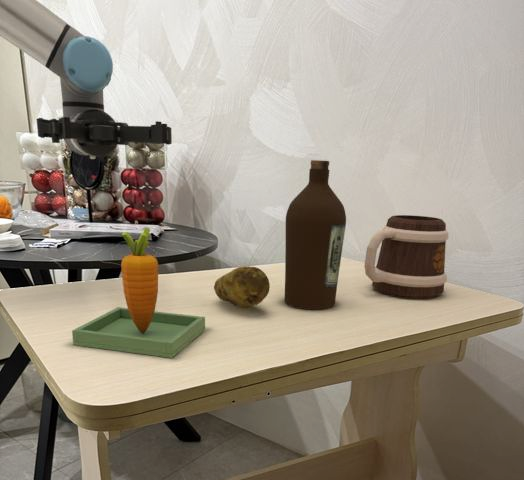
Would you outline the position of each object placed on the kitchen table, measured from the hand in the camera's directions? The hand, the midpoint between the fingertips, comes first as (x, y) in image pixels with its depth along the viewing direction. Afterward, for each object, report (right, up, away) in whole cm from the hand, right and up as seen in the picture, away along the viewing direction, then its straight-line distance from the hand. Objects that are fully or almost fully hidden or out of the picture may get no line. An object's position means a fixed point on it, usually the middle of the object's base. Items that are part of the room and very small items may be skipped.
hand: (118, 130), depth 74 cm
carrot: (+3, -29, +1) cm, 29 cm away
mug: (+49, -19, +34) cm, 63 cm away
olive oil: (+29, -23, +23) cm, 44 cm away
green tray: (+3, -29, +2) cm, 30 cm away
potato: (+17, -24, +18) cm, 34 cm away
